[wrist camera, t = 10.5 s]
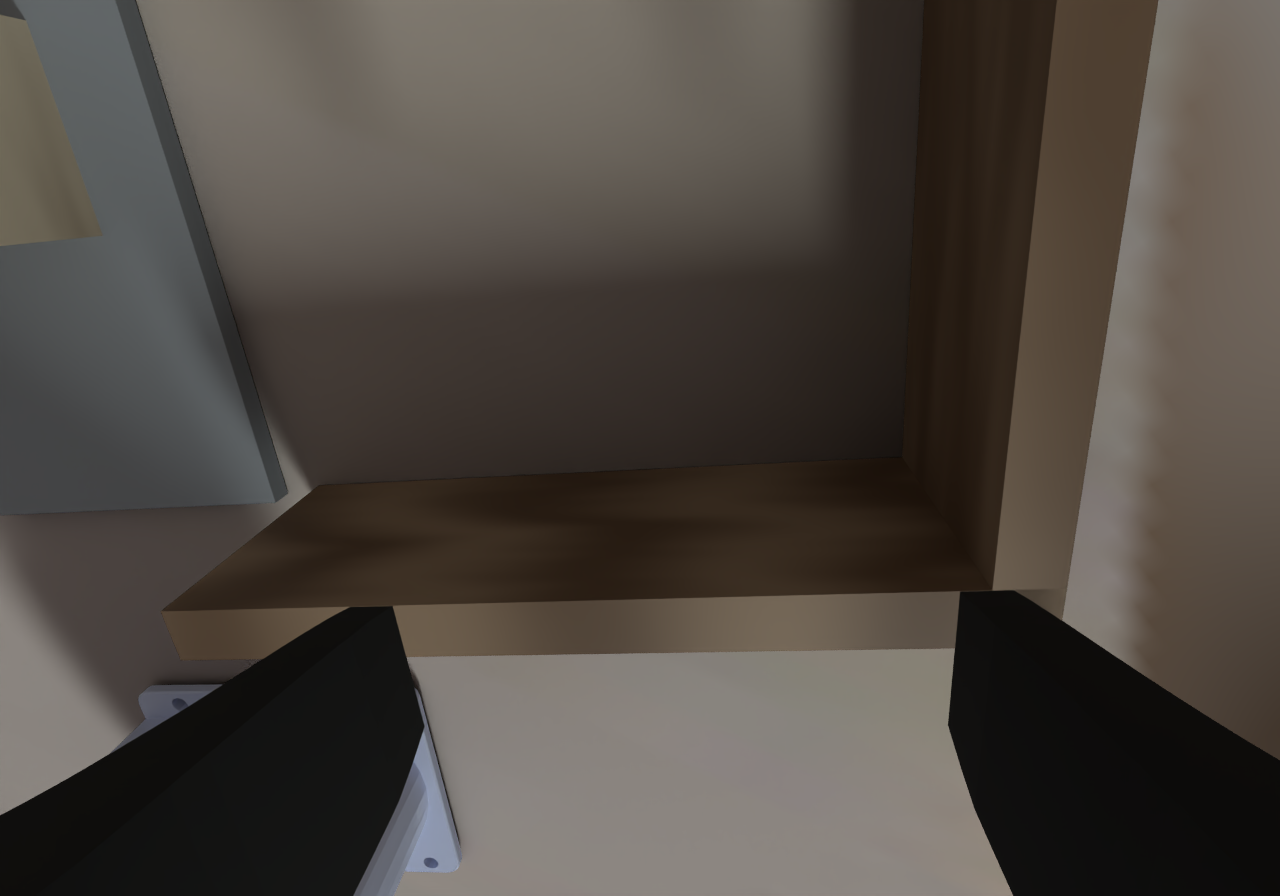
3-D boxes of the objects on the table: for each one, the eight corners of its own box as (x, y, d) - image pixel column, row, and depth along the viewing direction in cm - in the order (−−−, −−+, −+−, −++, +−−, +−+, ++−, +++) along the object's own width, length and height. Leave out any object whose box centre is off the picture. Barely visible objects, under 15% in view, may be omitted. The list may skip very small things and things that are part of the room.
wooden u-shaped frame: (329, 523, 20) (180, 660, 14) (23, -533, 12) (-560, -1134, 7) (948, 497, 18) (1057, 646, 12) (1048, -799, 10) (1470, -2008, 4)
